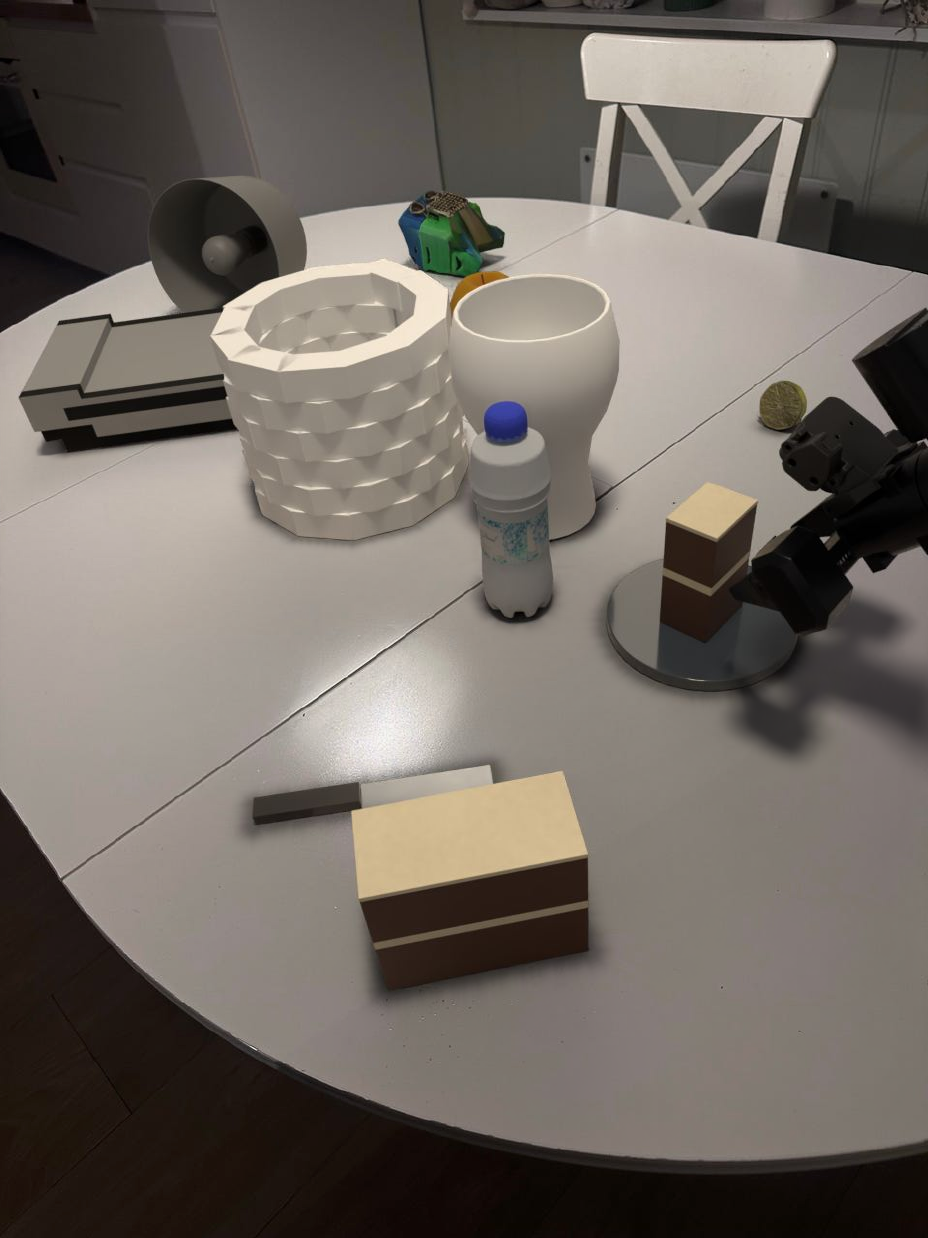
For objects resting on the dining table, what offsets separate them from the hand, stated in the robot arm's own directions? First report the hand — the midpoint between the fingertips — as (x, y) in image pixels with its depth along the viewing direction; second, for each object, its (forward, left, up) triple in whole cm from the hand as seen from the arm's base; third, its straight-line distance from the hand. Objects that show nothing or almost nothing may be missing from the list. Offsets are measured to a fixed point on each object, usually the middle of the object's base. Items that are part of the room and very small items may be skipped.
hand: (764, 561), depth 71 cm
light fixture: (+86, -55, -9) cm, 102 cm away
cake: (+11, +31, -9) cm, 35 cm away
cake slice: (+5, -2, -8) cm, 9 cm away
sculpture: (+58, -70, -9) cm, 91 cm away
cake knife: (+23, +24, -9) cm, 35 cm away
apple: (+41, -42, -9) cm, 59 cm away
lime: (+4, -36, -9) cm, 37 cm away
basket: (+45, -15, -9) cm, 48 cm away
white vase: (+24, -14, -9) cm, 29 cm away
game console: (+76, -24, -9) cm, 80 cm away
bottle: (+21, 0, -9) cm, 23 cm away
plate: (+5, -2, -9) cm, 10 cm away
